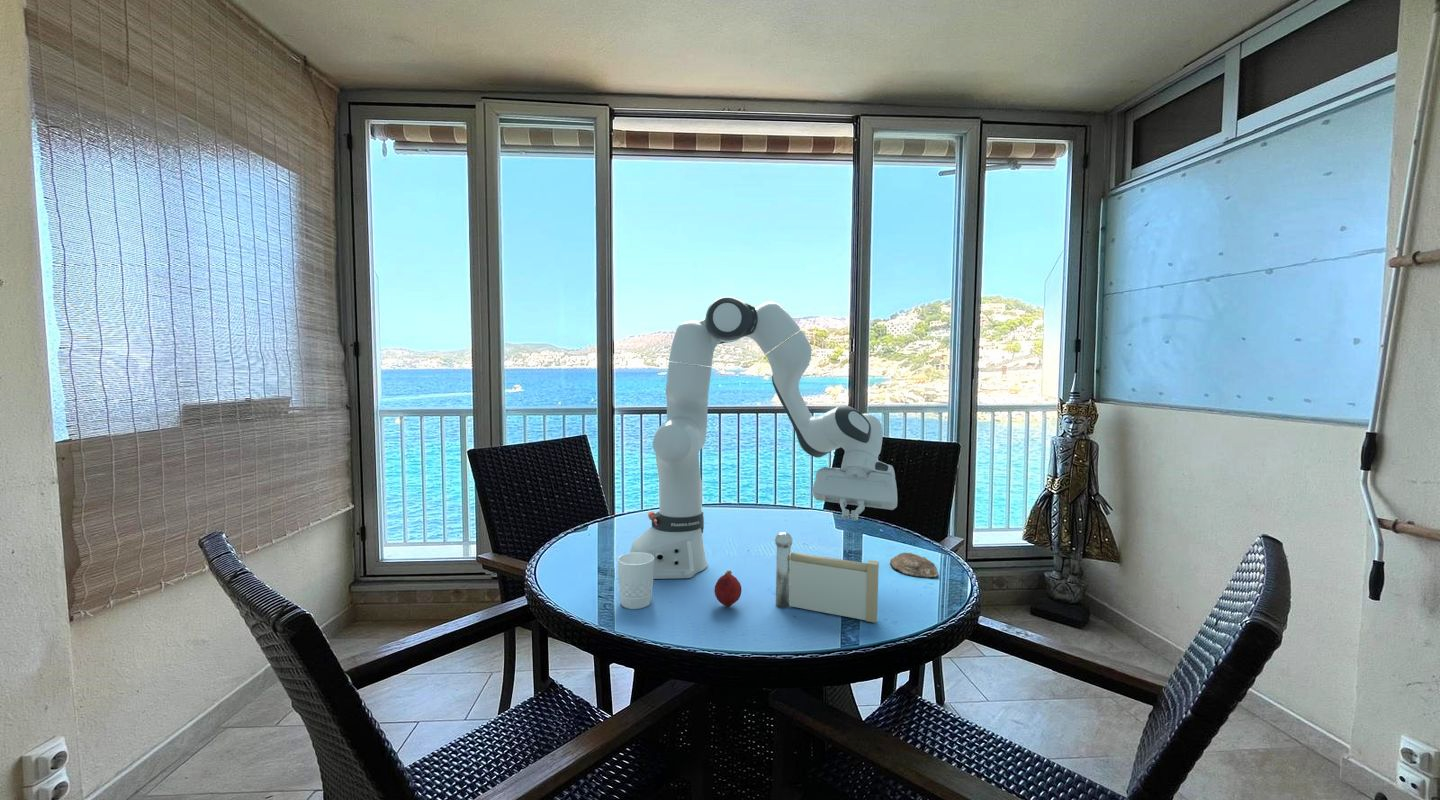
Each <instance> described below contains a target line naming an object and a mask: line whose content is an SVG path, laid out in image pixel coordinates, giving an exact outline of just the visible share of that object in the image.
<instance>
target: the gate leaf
mask: <svg viewBox="0 0 1440 800" xmlns="http://www.w3.org/2000/svg"><path fill="white" fill-rule="evenodd" d="M879 562H880V561H879V560H872V559H868V561H867V562H862V561H861V562H860V561H856V560H855V561H854V560H848V559H841V558H833V557H827V556H820V555H814V554H806V553H799V552H792V551H790V604H789V607H793V608H798V609H799V608H800V609H804V610H810V611H814V612H821V613H826V614H830V615H837V616H841V617H848V618H852V619H857V620H863V621H865V622H869V623H870V622H871V623H874V624H876V623H877V620H878V603H879V601H878V600H879V567H880V564H879Z"/></svg>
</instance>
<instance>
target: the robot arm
mask: <svg viewBox="0 0 1440 800" xmlns="http://www.w3.org/2000/svg"><path fill="white" fill-rule="evenodd" d="M744 337H745V338H746V337H747V338H750V339H752V341H754V342H755V343H756V344H757V345H758V346H759V348H760V350H761V351H762V352H763V354H764V355H765V358H767V360H768V362H769V365H770V368H771V372H772V376H771V381H772V386H773V388H774V391H775V393H776V396H777V397H778V399H779V401H780V403H781V405H782V407H783V409H784V411H785V413H786V415H787V418H788V419H789V421H790V423H791V425H792V427H793V429H794V432H795V434H796V438H797V441H798V444H799V446H800V448H801V449H802V450H803V451H804V452H805V453H806V454H808V455H809V456H812V457H814V458H823V457H825V456H826V455H828V454H831V452H832V451H835V450H837V449H840V448H841V449H843V451H844V454H843V458H842V462H841V464H840V466H841V467H828V466H823V467H822V468H821V467H820V468H819V469H817V470H816V474H815V480H814V481H813V484H812V488H811V493H812V496H813V498H814V500H815V501H821V502H829V503H836V504H839V505H840V509H841V518H842V519H843V520H844V519H845V520H849V519H850V520H851V521H858V519H859V515H860V514H862V512H864V511H865V507H867V508H874V509H882V510H883V509H884V510H890V511H893V510H895V509H896V508H897V507H898V488H897V480H896V473H895V469H894V467H893V465H891V464H887V463H885V462H883V461H880V460H879V455H880V454H881V451H882V445H883V438H884V437H883V435H884V434H883V427H882V423H881V421H880V420H879V419H878V418H877V417H876V416H875V415H872V414H871V413H861V412H860V411H858V410H857V409H856V408H854V407H852V406H849V405H846V404H842V405H839V406H837V407H835V408H832V409H830V410H828V411H826V412H825V413H822V414H821V415H819V416H817V417H815V416H813V415H812V413H811V412H810V410H809V408H808V405H807V404H806V402H805V399H804V398H803V396H802V394H801V391H800V387H799V386H800V381H801V378H802V376H803V374H804V373H805V372H806V371H807V369H808V367H809V365H810V362H811V360H812V354H813V353H812V352H813V351H812V350H813V349H812V346H811V344H810V342H809V340H808V338H807V336H806V335H805V333H804V332H803V331H802V330H801V328H800V326H799V324H798V323H797V322H796V321H795V319H794V318H793V317H792V316H791V314H790V313H789V312H787V311H786V309H784V307H782V305H780V304H779V303H778V302H775V301H766V302H763V303H761V304H759V305H758V306H756V307H755V306H754V305H752V304H750V303H748V302H745V301H744V300H741V299H740V298H737V297H734V296H729V295H728V296H722V297H718V298H717V299H715V300H714V301H713V302H712V303H711V304H710V305H709V307H708V309H707V311H706V316H705V318H704V319H702V320H687V321H684V322H682V323H680V324H679V325H678V326H677V328H676V330H675V333H674V337H673V340H672V343H671V348H670V352H669V361H668V365H667V367H668V369H667V376H666V383H665V385H666V386H665V397H666V421H665V422H663V423H662V424H661V425H660V426H659V427H658V428H657V430H656V432H655V433H654V436H653V440H652V441H653V442H652V448H653V452H654V453H655V460H656V461H655V463H656V468H657V474H658V482H659V483H658V484H659V511H657V512H655V511H653V510H651V511H649V512H648V514H647V517H648V518H649V520H650V521H651V527H649V528H648V529H646V531H644V532H643V533H642V534H641V535H639V536H638V537H637V538H635V539H634V540H633V541H632V544H631V547H630V549H629V550H630V551H629V553H635V552H642V553H648V554H651V555H653V556H654V573H653V580H655V579H659V580H660V579H665V580H666V579H690V578H692V577H694V575H695V574H698V573H699V572H701V571H703V570H705V569H707V568H708V561H707V556H706V554H705V553H706V552H705V547H704V538H703V533H704V529H705V528H704V527H705V522H704V521H705V518H704V517H705V516H704V512H703V509H702V508H703V506H702V505H703V502H702V501H703V496H702V495H703V480H702V478H701V470H700V459H699V458H700V457H699V454H700V451H701V450H702V448H703V447H704V445H705V444H706V440H707V438H706V437H707V430H708V427H707V426H708V411H709V410H708V408H709V407H708V406H709V405H708V403H709V391H710V383H711V376H712V370H713V369H712V367H713V360H714V359H713V358H714V352H715V350H716V347H717V346H718V345H722V344H727V343H733V342H737V341H739V340H741V339H743V338H744ZM847 505H851V506H857V507H856V508H855V509H853V510H852V509H851V511H850V510H849V509H847V508H846V507H847Z"/></svg>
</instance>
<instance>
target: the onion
mask: <svg viewBox="0 0 1440 800" xmlns="http://www.w3.org/2000/svg"><path fill="white" fill-rule="evenodd" d="M713 589H714V596H715V597H716V600H717V601H718V602H719V603H720V604H721V605H723V606H725V607H726V608H730V607H731V606H733V605H734V604H735V603H736V602H738V601H739V600H740V597H741V595H742V584H741V582H740V581H739V580H738V578H736V576H735V575H733V574H732V570H726V571H725V573H724V574H723V575H722V576H720V577H719V578H718V579H717V581H716V583H715V585H714V588H713Z"/></svg>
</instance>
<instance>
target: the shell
mask: <svg viewBox="0 0 1440 800" xmlns="http://www.w3.org/2000/svg"><path fill="white" fill-rule="evenodd" d="M890 568H891V569H892V570H893V571H894V572H895V571H896V572H897V573H900V574H901V575H904V576H909V577H913V578H914V577H915V578H920V579H921V578H923V579H935V578H936V577H938V576H939V572H938V569H937V566H936V565H935V564H934V562H932V561H931V560H929V559H928V558H927V557H925V556H920V555H918V554H916V553H912V552H901V553H899V554H897V555H896V556H894V557H893V558H891V559H890Z"/></svg>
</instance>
